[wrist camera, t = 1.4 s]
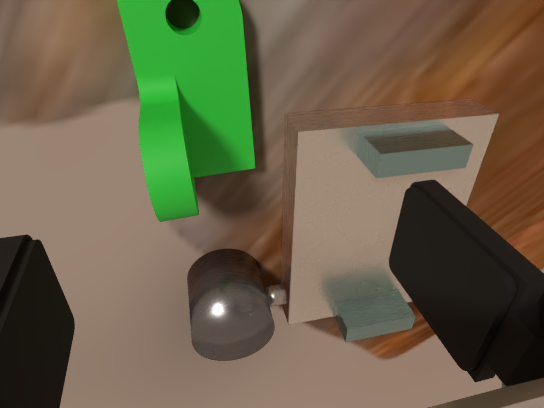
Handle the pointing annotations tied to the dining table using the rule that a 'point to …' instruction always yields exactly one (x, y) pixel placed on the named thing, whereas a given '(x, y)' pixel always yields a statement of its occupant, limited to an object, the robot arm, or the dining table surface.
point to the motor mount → (339, 223)
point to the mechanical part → (189, 98)
